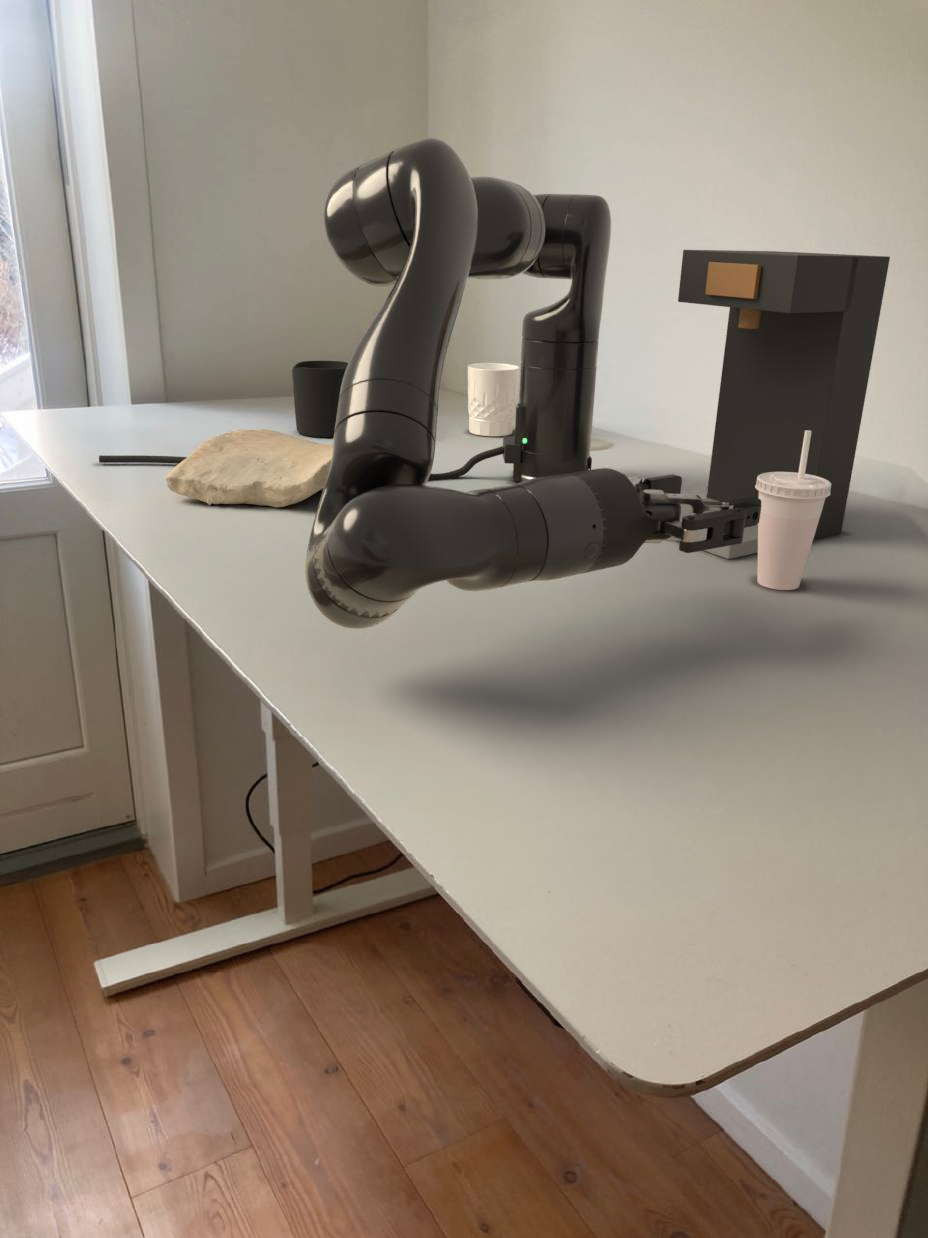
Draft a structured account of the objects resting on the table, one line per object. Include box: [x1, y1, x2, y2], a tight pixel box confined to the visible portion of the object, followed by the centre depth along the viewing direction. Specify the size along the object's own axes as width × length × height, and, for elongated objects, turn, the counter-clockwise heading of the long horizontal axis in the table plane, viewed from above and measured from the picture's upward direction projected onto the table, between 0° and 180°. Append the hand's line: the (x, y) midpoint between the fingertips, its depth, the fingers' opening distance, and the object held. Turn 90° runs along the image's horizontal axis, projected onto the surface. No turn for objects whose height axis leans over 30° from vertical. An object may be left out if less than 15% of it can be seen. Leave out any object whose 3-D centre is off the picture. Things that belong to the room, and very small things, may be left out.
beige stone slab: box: [165, 428, 333, 508], centre depth 118 cm, size 24×8×20 cm
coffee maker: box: [677, 249, 891, 560], centre depth 102 cm, size 18×14×28 cm
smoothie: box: [755, 430, 831, 591], centre depth 88 cm, size 6×6×14 cm
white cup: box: [467, 362, 521, 437], centre depth 151 cm, size 8×8×10 cm
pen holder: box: [291, 360, 349, 439], centre depth 147 cm, size 9×9×10 cm
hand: (715, 498), depth 82 cm, fingers open, 8 cm apart
